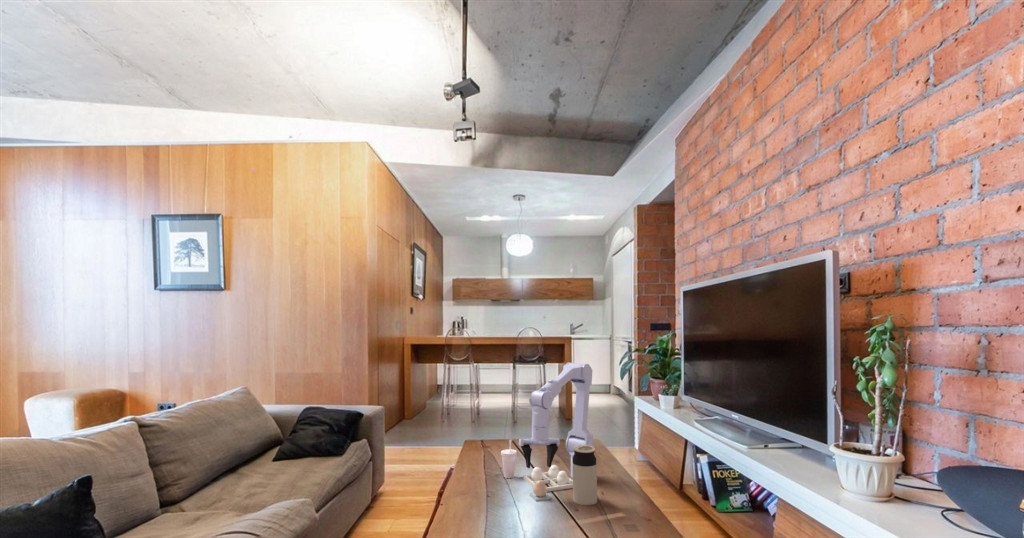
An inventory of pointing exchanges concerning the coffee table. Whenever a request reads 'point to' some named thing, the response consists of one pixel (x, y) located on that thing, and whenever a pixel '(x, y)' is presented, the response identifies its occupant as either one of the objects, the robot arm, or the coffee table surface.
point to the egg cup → (539, 497)
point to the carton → (548, 480)
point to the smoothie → (509, 462)
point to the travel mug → (584, 475)
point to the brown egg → (540, 489)
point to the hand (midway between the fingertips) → (538, 467)
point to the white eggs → (551, 475)
